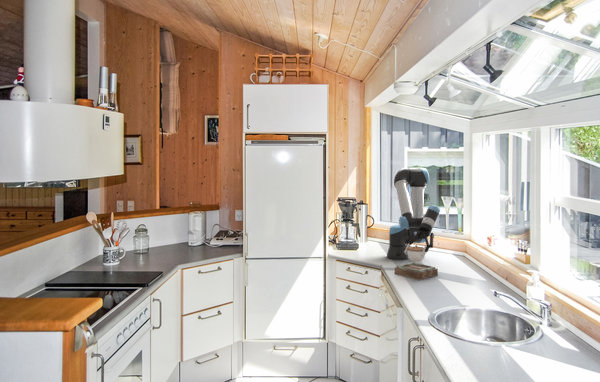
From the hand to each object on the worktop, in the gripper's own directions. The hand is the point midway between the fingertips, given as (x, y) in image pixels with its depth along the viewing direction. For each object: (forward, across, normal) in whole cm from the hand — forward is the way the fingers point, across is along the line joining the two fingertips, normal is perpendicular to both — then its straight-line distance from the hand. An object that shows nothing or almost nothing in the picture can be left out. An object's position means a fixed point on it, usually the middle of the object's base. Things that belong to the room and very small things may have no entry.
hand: (413, 254), depth 258 cm
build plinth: (+7, 0, +11) cm, 13 cm away
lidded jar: (+1, 0, +5) cm, 5 cm away
